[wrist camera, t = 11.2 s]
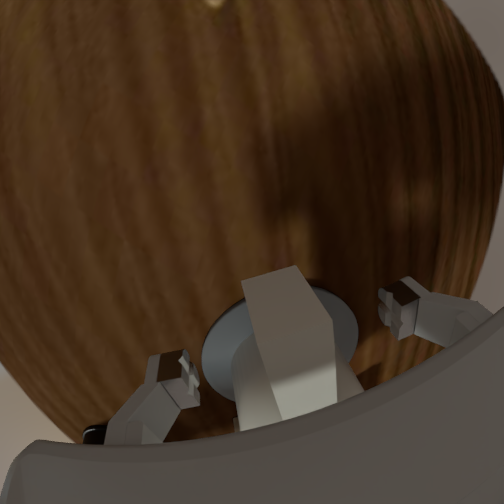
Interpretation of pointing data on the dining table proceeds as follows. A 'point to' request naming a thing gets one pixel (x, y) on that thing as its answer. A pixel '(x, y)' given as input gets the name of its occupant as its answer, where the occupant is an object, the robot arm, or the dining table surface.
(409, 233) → the dining table surface
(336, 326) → the mat
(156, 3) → the dining table surface
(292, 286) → the white handled cylinder
